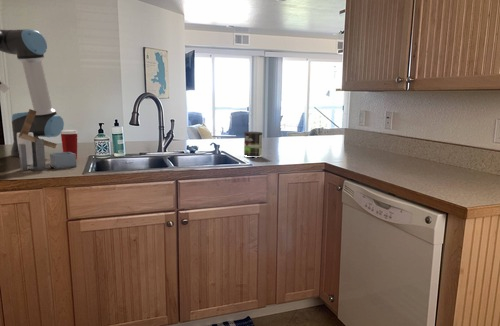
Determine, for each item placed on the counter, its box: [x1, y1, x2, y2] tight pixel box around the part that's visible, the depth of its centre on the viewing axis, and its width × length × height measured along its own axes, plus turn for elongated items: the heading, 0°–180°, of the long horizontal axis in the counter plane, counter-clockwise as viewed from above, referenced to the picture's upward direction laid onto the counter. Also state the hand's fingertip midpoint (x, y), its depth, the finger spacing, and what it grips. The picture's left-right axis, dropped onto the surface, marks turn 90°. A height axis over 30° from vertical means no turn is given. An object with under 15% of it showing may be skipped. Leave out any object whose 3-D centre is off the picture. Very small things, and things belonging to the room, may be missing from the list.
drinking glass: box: [17, 132, 34, 166], centre depth 175 cm, size 7×7×15 cm
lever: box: [19, 108, 58, 149], centre depth 165 cm, size 6×14×13 cm, turn 133°
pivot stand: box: [28, 138, 51, 172], centre depth 166 cm, size 9×6×14 cm, turn 43°
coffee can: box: [243, 131, 263, 156], centre depth 214 cm, size 10×10×14 cm
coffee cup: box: [60, 129, 79, 161], centre depth 191 cm, size 8×8×15 cm
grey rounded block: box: [49, 151, 78, 170], centre depth 173 cm, size 9×9×6 cm
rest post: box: [19, 144, 29, 172], centre depth 162 cm, size 4×2×11 cm, turn 43°
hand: (6, 90), depth 159 cm, fingers closed
